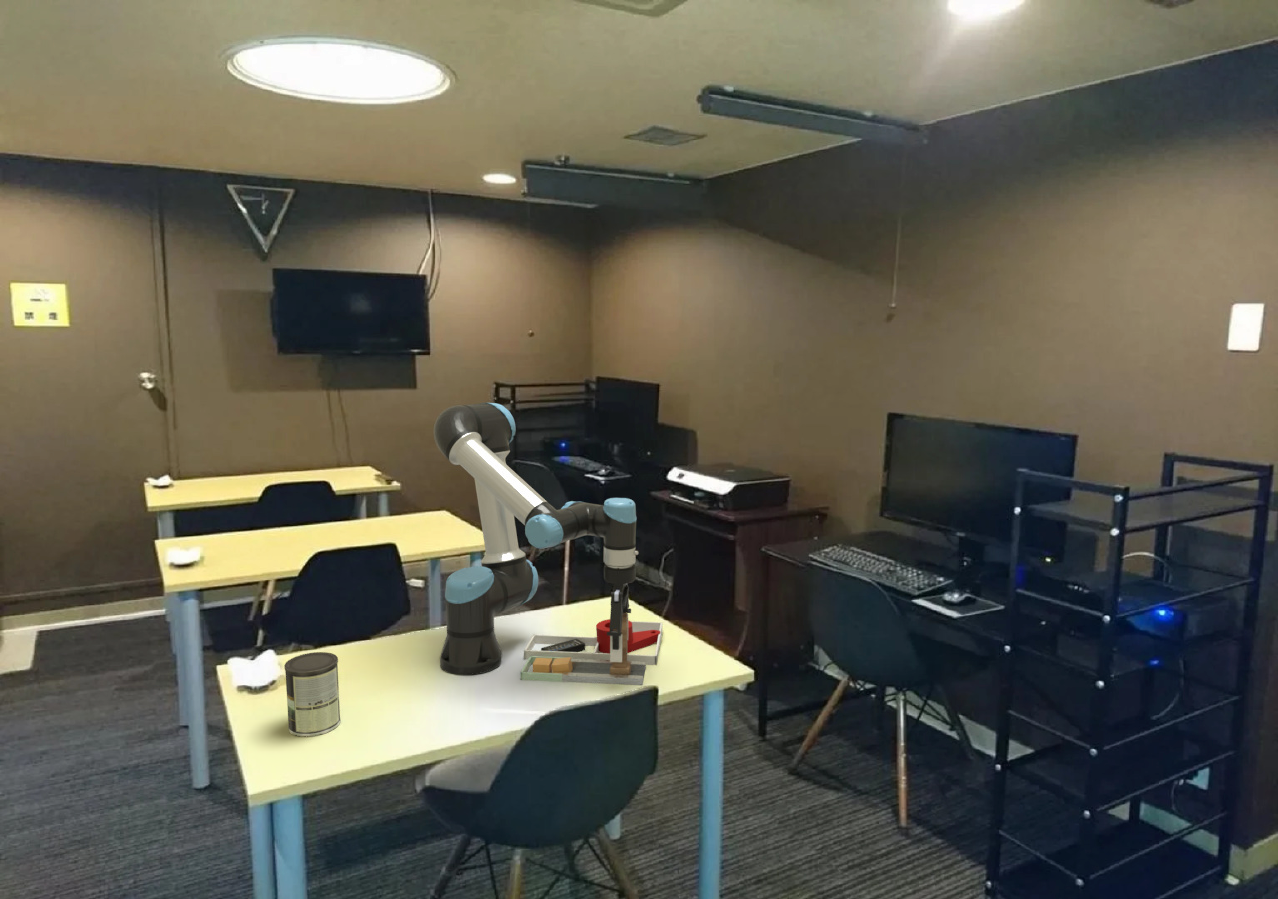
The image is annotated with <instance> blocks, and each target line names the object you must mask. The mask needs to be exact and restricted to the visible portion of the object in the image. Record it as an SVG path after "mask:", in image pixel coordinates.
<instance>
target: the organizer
mask: <svg viewBox="0 0 1278 899" xmlns="http://www.w3.org/2000/svg"><path fill="white" fill-rule="evenodd" d="M630 621H631V622H632V629H633V632H640V631H648V630H659V631H660V634H659V635H658V641H657V643H656V647H655V653H654V655H652V654H630V653H627V661H639V662H646V666H647V665H648V666H649V665H650V666H657V664H658V658H659V653H660V647H661V643H662V638H663V637H662V636H663V622H662V621H661V622H659V621H639V620H638V621H635V620H634V621H633V620H630ZM574 639H578V640H580V641H581V642H583V643H585V647H586V646H587V647H594V649H593V652H586V651H585V652H584V651H580V652H561V651H541V650H536V649H535V650H533V648H534V646H535V645H555V644H558V643H562V642H566V641H570V640H574ZM530 656H540V657H564V658H567V657H571V659H592V660H610V654H609V653H601V652H599V643H598V642H597V636H575V635H573V636H571V635H551V634H549V635H548V634H547V635H546V634H533V635H532V637H531V638H530V639H529V642H528V643H527V645H526V647H525V648H524V650H523V660H528V659H529V657H530Z"/></svg>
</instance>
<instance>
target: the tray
mask: <svg viewBox="0 0 1278 899" xmlns="http://www.w3.org/2000/svg"><path fill="white" fill-rule="evenodd" d="M536 658H552V663H553V661H554V659H557V658H564V657H540V656H530V657H529V659H526V662H525V664H524V666H523V667H522V669H521V671H520V674H519V675H520V681H540V682H541V681H542V682H562V675H563V674H559V673H553V672H551V673H537V672H533V671H532V672H531V671H529V669H530V667H531V665H533V663H534V661H535V659H536Z"/></svg>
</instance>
